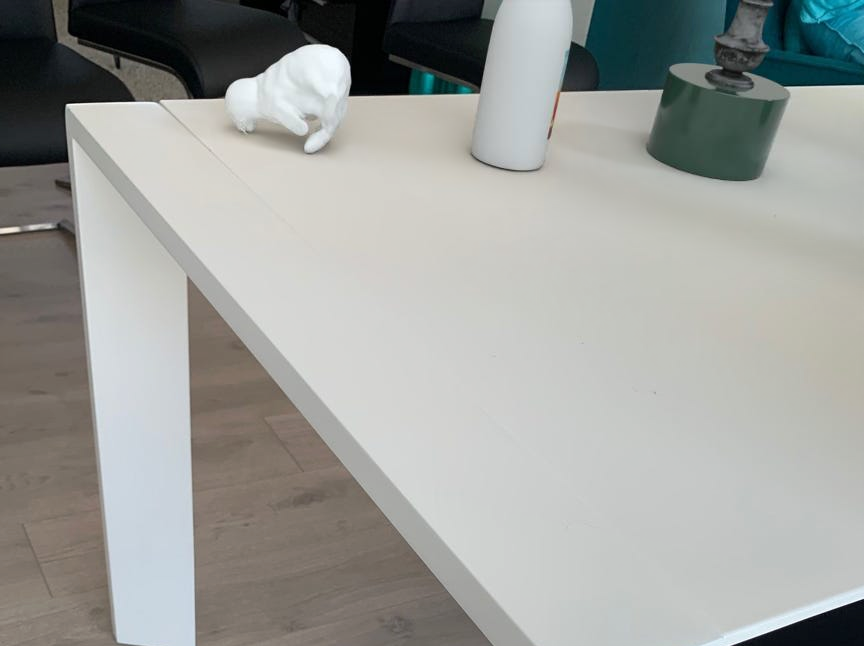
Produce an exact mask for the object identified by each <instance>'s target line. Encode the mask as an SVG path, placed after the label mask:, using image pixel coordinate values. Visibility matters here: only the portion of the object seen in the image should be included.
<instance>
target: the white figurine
mask: <svg viewBox="0 0 864 646" xmlns="http://www.w3.org/2000/svg"><path fill="white" fill-rule="evenodd" d="M351 75H352V74H351V65H350V62H349V60H348V58H347V57H346V56H345V53H342V51H340V50H339V48H337V47H333V46H330V45H328V44H316V43H315V44H307V45H303V46H301V47H299V48H297V49H296V50H294V51H292V52H289V53H286V54H285V55H284V56H282V57H281V58H280V59H279V60H278V61H276V62H274V63H273V64H271V65H270V66H268V68H267V69H266V70H265V71H264V72H262V73H259V74H258V75H256V76H254V77H245V78H240V79H237V80H235V81H233V82H232V83H231V84H230V85H229V86H228V88H227V90H226V93H225V97H224V104H225V110H226V112H227V114H228V116H229V117H230V118H231V119H232V121H233V122H234V124H235V126H236V128H237V130H238V131H239V132H243V133H244V134H245V135H248V133H247V132H253V131H254V130H255V128H256V127H255V126H256V125H257V122H258V121H260V120H263V119H264V120H266V121H269V122H271V123H273V124H276V125H281V126H283V127H284V128H286V129H287V130H288V131H290V132H292V133H293V134H295V135H297V136H300V137H304V136H306V135H307V134H308V132H309V125H308V123H307V121H309V122H313V121H316V120H318V119H319V120H320V124H318V125H317V126H316V127H315V128H314V132H313V133H312V134H310V135H309V136H308V138H307V139H306V141H305V143H304V145H303V151H304V153H307V154H313V153H316V152H317V151H318V152H319V151H320V150H321V149H323V148H324V147H325V146H326V145H327V143H328V142H330V140H331V139H332V137H333V135H334V133H335V131H336V130H338V129H339V128H340V126H341V124H342V123H343V120H344V119H345V116H346V114H347V110H348V100H349V95H350V89H351V85H352V76H351ZM305 120H306V121H305Z"/></svg>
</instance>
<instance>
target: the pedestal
mask: <svg viewBox="0 0 864 646" xmlns="http://www.w3.org/2000/svg"><path fill="white" fill-rule="evenodd" d="M713 69H723V67H721V66H720V65H714V64H709V63H708V64H707V63H696V62H681V63H676V64H673V65H671V66H670V67H669V69H668V73H667V75H666V79H665V83H664V86H663V88H662V89H663V90H662V93H661V96H660V100H659V104H658V107H657V111H656V114H655V117H654V121H653V123H652V126H651V127H652V128H651V131H650V134H649V138H648V141H647V145H646V150H647V152H648V153H649V154H650V156H652V157H654V158H655V159H657V160H658V161H659V162H662V163H663V164H666V165H667V166H669V167H673V168H674V169H676V170H677V169H678V170H680V171H682V172H686V173H689V174H693V175H696V176H702V177H706V178H710V179H711V178H712V179H717V180H724V181H725V180H726V181H751V180H755V179H758V178H760V177H761V176H762V174H763V172H764V169H765V166H766V164H767V161H768V158H769V156H770V153H771V150H772V147H773V145H774V142H775V139H776V137H777V135H778V132H779V129H780V126H781V124H782V120H783V118H784V115H785V113H786V109H787V107H788V104H789V101H790V99H791V92H790V91H789V90H788V89H787V87H784V86H783V85H781V84H780V83H778V82H775V81H774V80H771V79H768V78H766V77H764V76H760V75H757V74H754V73H751V72H742V73H743V74H744V75H746V76H748V77H750V78H751V79H752V81H753V82H754V84H755V85H754V87H752V88H739V87H733V86H728V85H724V84H720V83H717V82H714V81H712V80H710V79H708V78H707V77H706V76H705V73H707V72H709V71H711V70H713Z"/></svg>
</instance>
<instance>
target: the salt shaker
mask: <svg viewBox="0 0 864 646" xmlns="http://www.w3.org/2000/svg"><path fill="white" fill-rule="evenodd" d="M738 1H739V3H738V6H737V9H736V12H735V15H734V18H733V20H732V22H731V24H730V26H729V27H728V29H727V31H725V32H723V33H722V34H721V33H720V34H715V35H713V41H715V42H714V45H713V58H714V61H715V63H716V64H717V66H721V67H723V69H713V70H711V71H709V72H707V73H705V76H706V77H707V78H708V79H710V80H712V81H714V82H717V83H720V84H724V85H728V86H733V87H739V88H752V87H754V85H755V84H754V82H753V81H752V79H751V78H750V77H748V76H746V75H744V74H743V73H742V72H747V73H749V72H752V71H753V70H754V69H756V68H757V67H759V65H760V64H761V63H762V61H763V60H764V58H765V55H766V53H769V51H770V50H771V48H770V46H768V44H765V42H764V40H763V39H762V37H763V28H764V24H765V21H766V19H767V15H768V12H769V9H770V8H771V7H773V6H774V2H773V1H772V0H738Z"/></svg>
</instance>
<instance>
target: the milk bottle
mask: <svg viewBox="0 0 864 646" xmlns="http://www.w3.org/2000/svg"><path fill="white" fill-rule="evenodd" d="M573 18H574V17H573V9H572V2H571V0H502V2H501V3H500V6H499V8H498V10H497V13H496V15H495V19H494V22H493V26H492V30H491V34H490V39H489V44H488V48H487V53H486V58H485V65H484V69H483V75H482V80H481V86H480V91H479V97H478V102H477V106H476V107H477V108H476V113H475V119H474V123H473V130H472V136H471V141H470V142H471V143H470V151H471V154H472V156H473V157H474V158H475V159H477V160H479V161H481V162H482V163H485V164H488V165H491V166H494V167H497V168H502V169H506V170H514V171H533V170H537V169H539V168H542V166H543V164H544V163H545V162H546V161H545V160H546V157H547V153H548V150H549V145H550V141H551V136H552V131H553V127H554V123H555V119H556V115H557V111H558V106H559V102H560V98H561V97H560V96H561V92H562V88H563V83H564V80H565V79H564V78H565V73H566V70H567V64H568V61H569V60H568V59H569V55H570V50H571V45H572V43H571V42H572V37H573V30H574V29H573V27H574V26H573V25H574V24H573V23H574V19H573Z"/></svg>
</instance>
